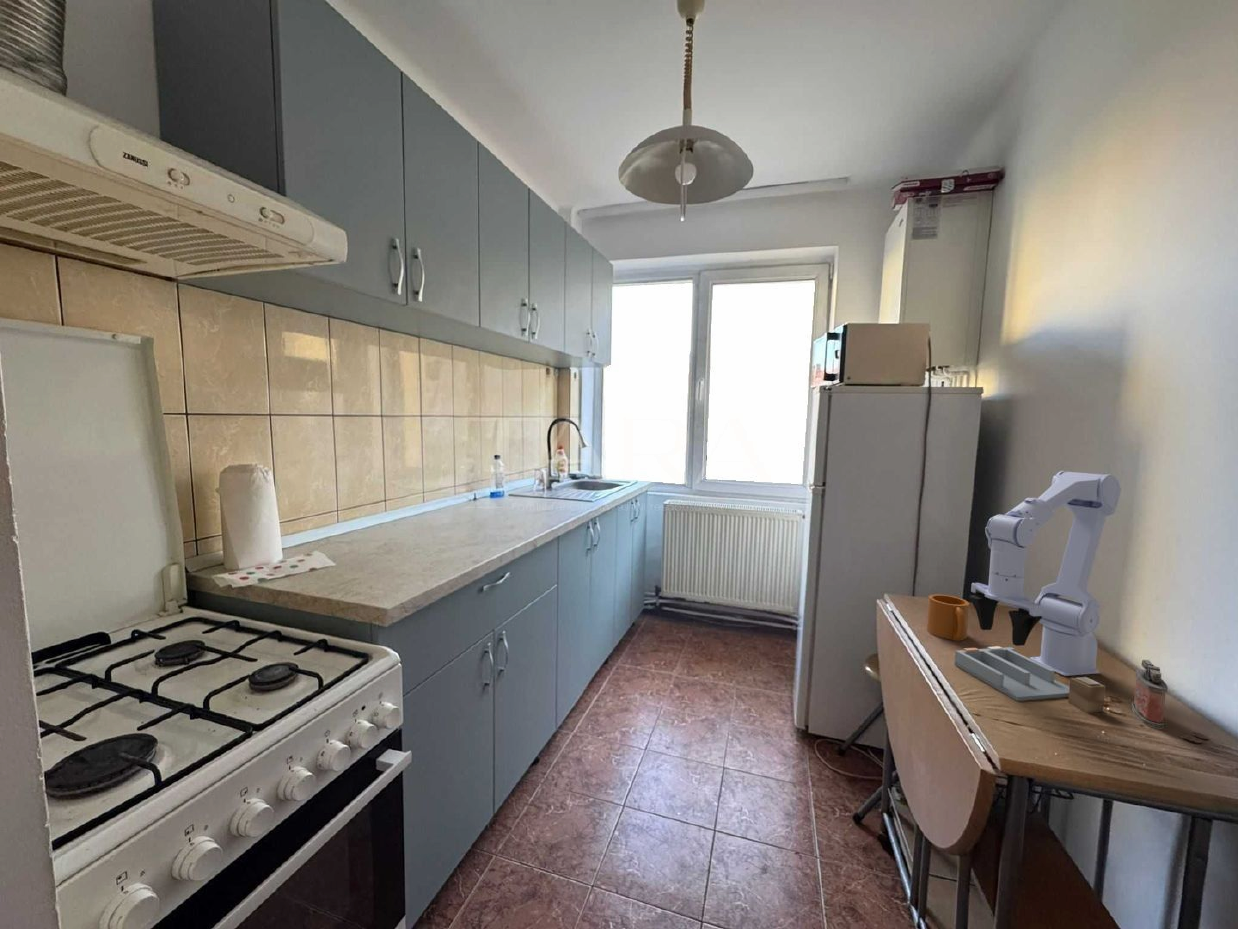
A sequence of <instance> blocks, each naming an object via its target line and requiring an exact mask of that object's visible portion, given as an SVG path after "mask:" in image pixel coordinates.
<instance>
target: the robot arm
mask: <svg viewBox="0 0 1238 929" xmlns="http://www.w3.org/2000/svg"><path fill="white" fill-rule="evenodd" d="M1121 488H1122V487H1121V485H1120V482H1119V480H1118V478H1117V477H1116V475H1114V474H1112V473H1107V474H1101V473H1089V472H1087V473H1086V472H1075V471H1067V470H1060V471H1059V472H1057V473H1056V474H1055V475H1054V476H1053V477H1052V479H1051V486H1049V488H1047V489H1046V490H1045V491H1044V492H1043V493H1042V494H1041V495H1040V496H1039V497H1027V498H1025V499H1024V501H1022V502H1020V503H1019V504H1018V505H1017V506H1015V507H1013V508H1012V509H1011V510H1009V511H1008V512H1006V513H1005V514H995V515H994V516H992V517H990V518H989V520H988V521H987V523H986V527H985V530H984V531H985V536H986V538H987V540H988V541H987V543H988V544H987V546H988V549H990V558H989V559H990V560H989V570H988V571H989V574H988V585H987V584H984V583H980V582H972V583H971V587H970V592H972V593H974V594H971V595H969V600H970V602H971V603H972V605H973V607H974V609H975V611H976V615H977V618H978V623H979V628H980V630H982V631H989V630H992V628H993V624H994V616H995V612H996V609H997V607H998V606H997V605H998V603H999V602H1000V603H1002V604H1005V605H1008V606H1010V607H1013V608H1015V609H1017V610H1008V614H1009V617H1010V621H1011V627H1012V628H1011V632H1012V633H1011V634H1012V635H1011V636H1012V637H1011V640H1012V646H1013V645H1014V646H1017V647H1018V646H1020V647H1021V646H1025V645H1026V643H1027V640H1028V638H1029V635H1030V634H1031V632H1032V630H1033V628H1034V627H1035V626H1036V625H1037V624H1038V623H1039V624H1041V625H1042V634H1041V635H1042V636H1041V647H1040V655H1039V656H1030V657H1029V659H1031V660H1034V661H1036V662H1038V663H1040V664H1042V665H1044V666H1046V667H1048V668H1050V669H1052V670H1054V671H1055V673H1057V674H1060V675H1062V676H1064V677H1067V676H1069V677H1070V676H1083V675H1095V674H1100V670H1097V669H1096V665H1097V664H1096V663H1097V654H1098V641H1097V638H1096V636H1095V635H1094V634H1093V633H1094V632H1095V631H1096V629H1097V628H1098V626H1099V623H1100V606H1101V603H1100V601H1099V600H1098V599H1097V598H1096V597H1095V596H1094V594H1092V593H1091V592H1090V591H1089V590H1088V586H1089V582H1090V578H1091V575H1092V570H1093V567H1094V562H1095V560H1096V557H1097V552H1098V547H1099V544H1100V540H1101V538H1102V533H1103V530H1104V526H1105V523H1106V519H1107V517H1109V516H1112V515H1114V514H1115V512H1116V509H1117V506H1118V503H1119V499H1120V496H1121V491H1122V489H1121ZM1062 506H1063V507H1064V508H1065V509H1067V510H1069V511H1071V512H1072V514H1073V516H1074V517H1073V521H1072V524H1071V525H1072V526H1071V528H1070V532H1069V536H1068V541H1067V544H1066V547H1065V550H1064V554H1063V558H1062V563H1061V566H1060V570H1059V573H1058V575H1057V581H1056V582H1054V583H1053V582H1052V583H1050V584H1047V585H1044V586H1043V587H1041V591H1040V593H1039V594H1038V597H1037V598H1036V599H1035V601H1034V600H1030V599H1029V598H1027V597H1025V596H1024V585H1025V584H1024V583H1025V582H1024V581H1025V569H1026V560H1027V559H1026V556H1027V547H1028V546H1031V545H1032V543H1033V541H1034V539H1035V537H1036V535H1037V534H1038V532H1039V530H1040V529H1041V528H1042V527H1044V525H1046V524H1048V523H1049V522H1050V521H1051V520H1053V518H1054V516H1055V515H1054V514H1055V513H1054V511H1055V510H1057V509H1059V508H1060V507H1061V508H1062ZM1062 597H1063V598H1062ZM1064 597H1065V598H1064ZM1066 598H1069V599H1066ZM1070 599H1071V600H1070ZM1074 600H1076V601H1077V602H1076V601H1074ZM1078 601H1079V602H1078Z"/></svg>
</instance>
